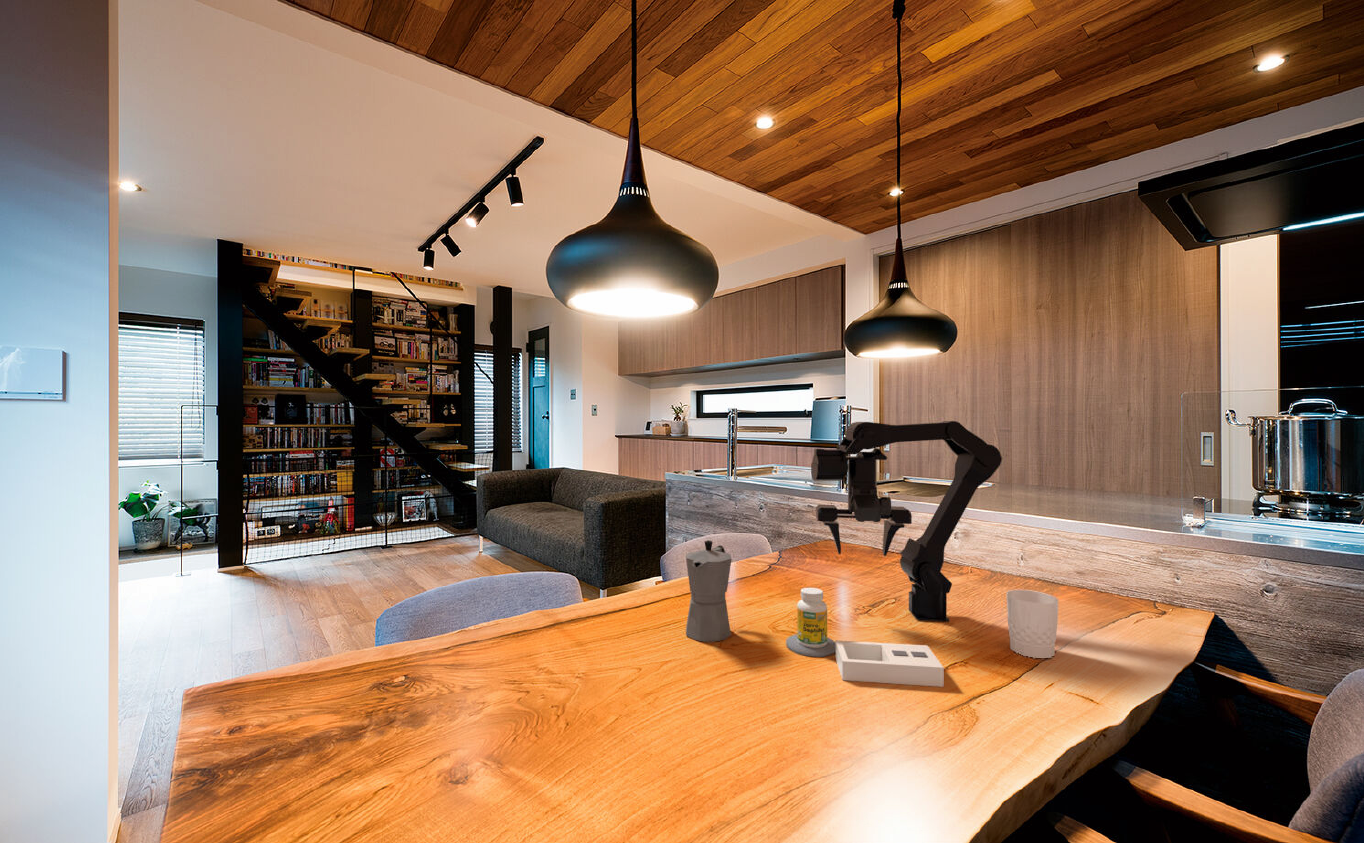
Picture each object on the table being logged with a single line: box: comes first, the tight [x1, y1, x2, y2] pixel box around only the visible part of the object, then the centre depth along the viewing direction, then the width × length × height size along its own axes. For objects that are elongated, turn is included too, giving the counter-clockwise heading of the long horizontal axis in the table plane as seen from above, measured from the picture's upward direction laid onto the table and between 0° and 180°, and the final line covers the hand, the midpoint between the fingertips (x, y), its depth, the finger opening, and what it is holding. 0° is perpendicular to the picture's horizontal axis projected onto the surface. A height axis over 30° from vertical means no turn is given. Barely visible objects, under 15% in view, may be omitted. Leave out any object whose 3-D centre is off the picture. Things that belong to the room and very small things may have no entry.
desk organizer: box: [834, 639, 945, 688], centre depth 91 cm, size 15×8×3 cm, turn 82°
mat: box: [785, 633, 835, 658], centre depth 101 cm, size 9×9×1 cm
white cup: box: [1006, 589, 1059, 659], centre depth 99 cm, size 8×8×10 cm
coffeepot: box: [685, 540, 732, 643], centre depth 108 cm, size 15×9×18 cm, turn 157°
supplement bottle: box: [796, 587, 828, 648], centre depth 101 cm, size 5×5×10 cm
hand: (861, 554), depth 117 cm, fingers open, 9 cm apart
